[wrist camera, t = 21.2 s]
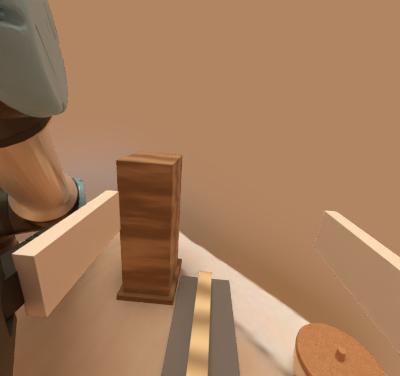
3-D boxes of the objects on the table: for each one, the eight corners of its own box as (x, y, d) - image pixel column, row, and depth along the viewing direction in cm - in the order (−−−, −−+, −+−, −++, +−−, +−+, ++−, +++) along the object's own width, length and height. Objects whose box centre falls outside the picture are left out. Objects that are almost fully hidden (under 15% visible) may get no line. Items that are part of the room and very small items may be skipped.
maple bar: (203, 440, 25) (205, 425, 24) (179, 436, 25) (180, 421, 24) (210, 282, 50) (211, 272, 49) (198, 281, 50) (199, 270, 49)
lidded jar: (301, 342, 38) (313, 303, 35) (374, 398, 30) (397, 354, 28) (273, 391, 30) (286, 345, 28) (361, 479, 23) (390, 430, 20)
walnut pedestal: (172, 305, 43) (177, 166, 34) (116, 299, 44) (107, 160, 35) (181, 262, 57) (187, 154, 48) (138, 258, 57) (136, 150, 48)
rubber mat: (243, 412, 28) (243, 409, 28) (156, 402, 28) (156, 399, 28) (228, 282, 51) (228, 280, 51) (180, 278, 51) (180, 276, 51)
